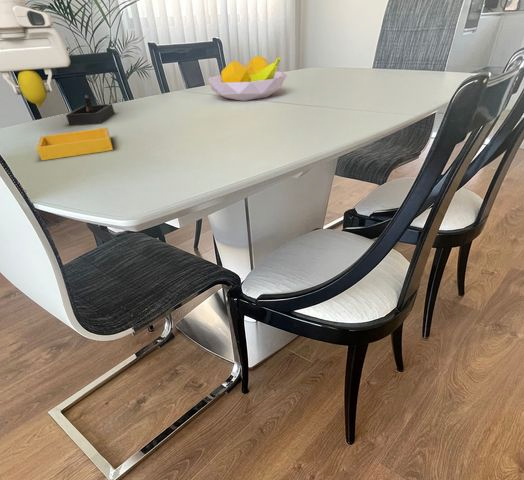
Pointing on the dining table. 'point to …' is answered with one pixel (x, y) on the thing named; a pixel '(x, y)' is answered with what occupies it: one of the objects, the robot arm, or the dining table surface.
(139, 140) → the dining table surface
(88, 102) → the lighter
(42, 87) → the lemon
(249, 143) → the dining table surface
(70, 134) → the yellow tray
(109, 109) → the dark tray
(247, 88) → the fruit bowl
